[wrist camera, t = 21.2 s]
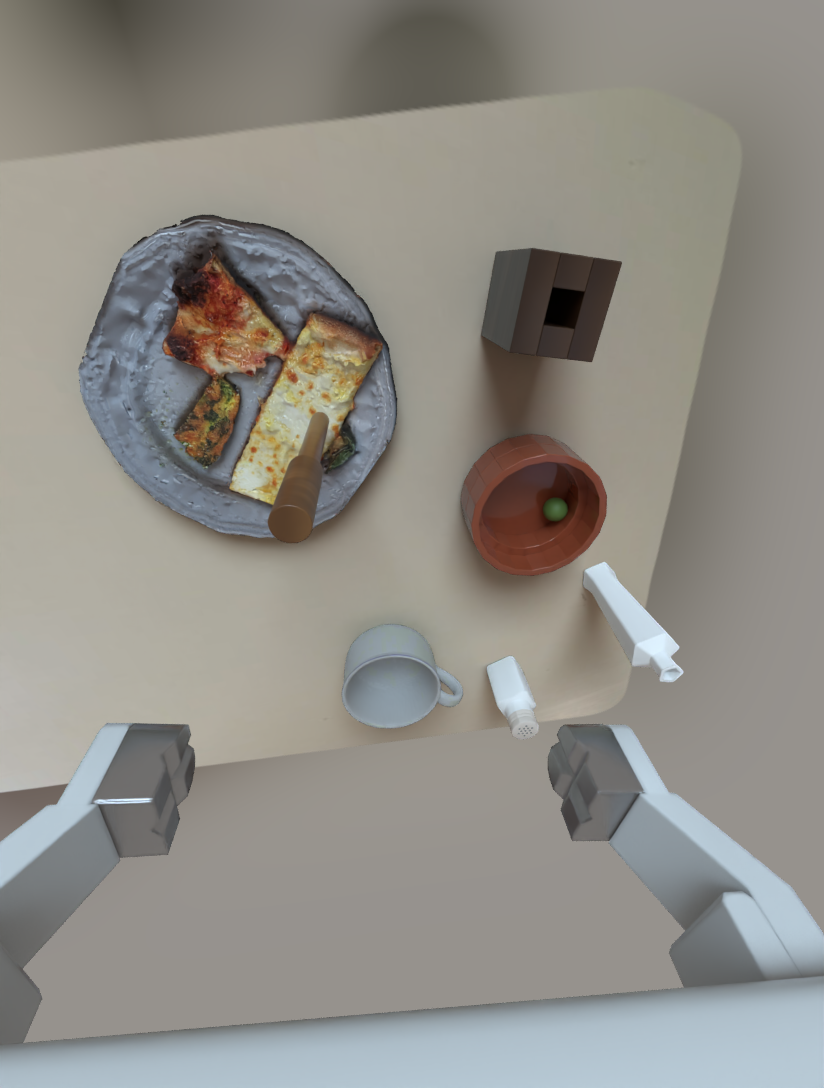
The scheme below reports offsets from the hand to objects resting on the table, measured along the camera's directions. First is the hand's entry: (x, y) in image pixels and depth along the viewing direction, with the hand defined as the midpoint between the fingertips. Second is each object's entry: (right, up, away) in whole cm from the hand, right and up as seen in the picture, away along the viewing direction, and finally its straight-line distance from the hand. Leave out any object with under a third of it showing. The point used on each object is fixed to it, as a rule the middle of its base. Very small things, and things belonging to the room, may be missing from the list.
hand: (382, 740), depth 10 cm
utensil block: (+10, +24, +27) cm, 38 cm away
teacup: (-1, -8, +47) cm, 47 cm away
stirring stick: (-7, +15, +28) cm, 32 cm away
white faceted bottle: (+22, +1, +43) cm, 49 cm away
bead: (+15, +8, +36) cm, 40 cm away
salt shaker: (+13, -12, +50) cm, 53 cm away
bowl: (+12, +10, +37) cm, 40 cm away
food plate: (-13, +17, +30) cm, 37 cm away
